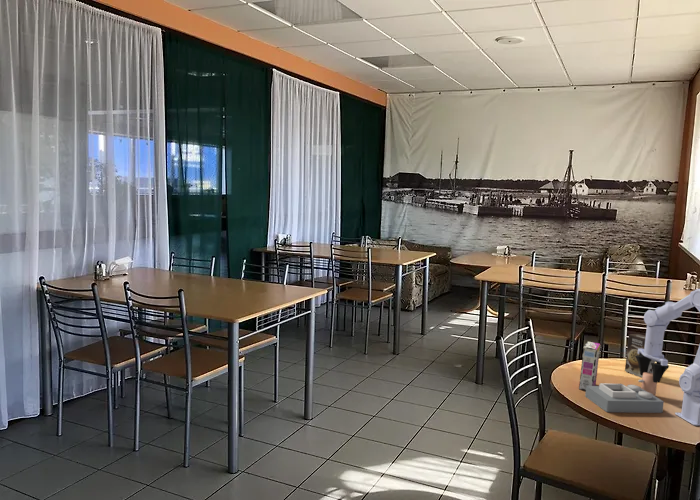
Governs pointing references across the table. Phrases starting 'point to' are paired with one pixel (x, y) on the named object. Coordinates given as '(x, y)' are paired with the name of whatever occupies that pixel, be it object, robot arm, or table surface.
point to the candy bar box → (589, 365)
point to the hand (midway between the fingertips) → (649, 378)
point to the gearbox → (623, 398)
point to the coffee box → (632, 350)
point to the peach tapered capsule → (648, 383)
